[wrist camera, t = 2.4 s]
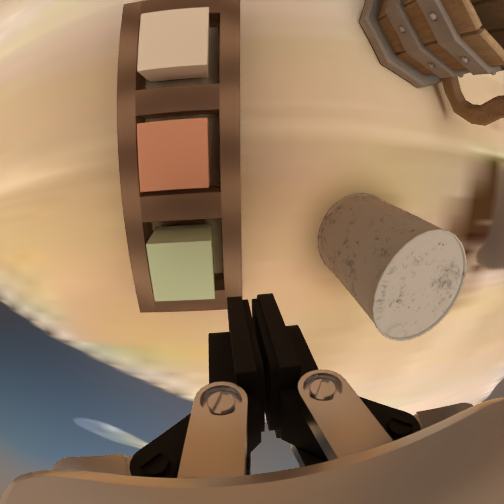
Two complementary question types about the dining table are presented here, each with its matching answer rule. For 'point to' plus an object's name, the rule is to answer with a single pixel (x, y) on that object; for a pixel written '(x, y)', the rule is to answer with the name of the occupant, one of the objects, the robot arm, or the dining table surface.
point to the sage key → (182, 262)
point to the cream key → (174, 44)
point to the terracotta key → (173, 154)
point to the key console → (173, 104)
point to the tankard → (440, 45)
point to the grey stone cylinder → (393, 264)
